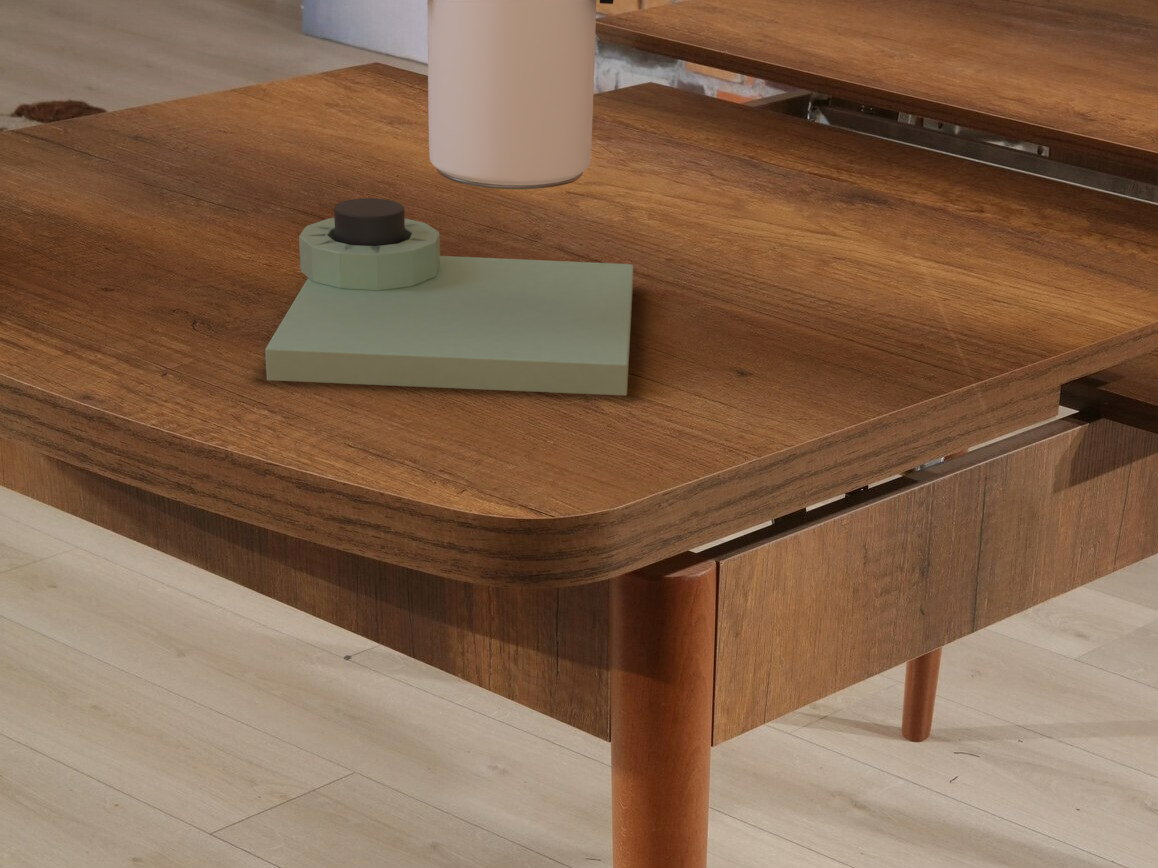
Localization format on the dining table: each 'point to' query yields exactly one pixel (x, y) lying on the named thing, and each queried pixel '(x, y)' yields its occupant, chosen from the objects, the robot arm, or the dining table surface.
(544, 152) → the can
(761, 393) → the dining table surface
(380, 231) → the button
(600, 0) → the robot arm
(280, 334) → the scale
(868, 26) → the dining table surface
